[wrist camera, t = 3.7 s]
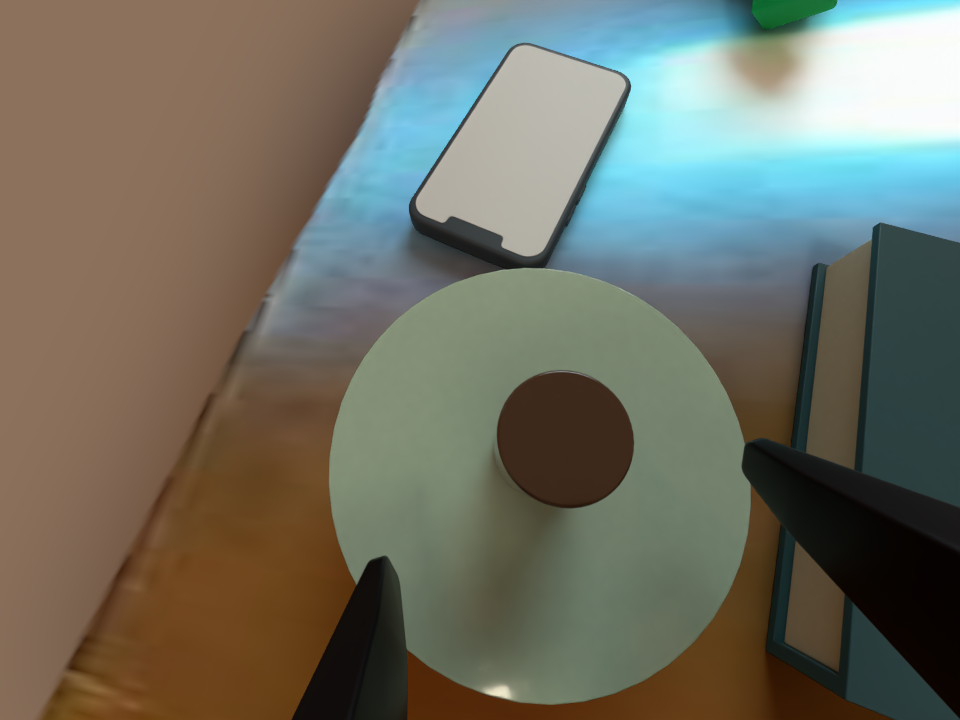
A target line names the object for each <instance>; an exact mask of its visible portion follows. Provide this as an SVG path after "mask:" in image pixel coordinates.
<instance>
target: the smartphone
mask: <svg viewBox="0 0 960 720" xmlns="http://www.w3.org/2000/svg"><path fill="white" fill-rule="evenodd" d="M630 90H631V84H630V81H629V79H628V78H627V77H626V76H625V75H624V74H622V73H621V72H618V71H615V70H612V69H609V68H606V67H603V66H600V65H596V64H593V63H590V62H587V61H584V60H581V59H578V58H575V57H572V56H568V55H565V54H562V53H559V52H556V51H553V50H550V49H547V48H544V47H540V46H537V45H534V44H530V43H520V44H517V45H515V46H513V47H511V48H510V49H509V51H508V52H507V54H506V55H505V57H504V58H503V60H502V61H501V63H500V64H499V66H498V67H497V69H496V70H495V72H494V73H493V75H492V77H491V78H490V80H489V81H488V83H487V84H486V86H485V87H484V89H483V90H482V92H481V93H480V95H479V96H478V98H477V99H476V101H475V103H474V104H473V106H472V107H471V109H470V110H469V112H468V113H467V115H466V116H465V118H464V119H463V121H462V122H461V124H460V125H459V127H458V129H457V130H456V132H455V133H454V135H453V136H452V138H451V139H450V141H449V142H448V144H447V145H446V147H445V148H444V150H443V151H442V153H441V155H440V156H439V158H438V159H437V161H436V162H435V164H434V165H433V167H432V168H431V170H430V171H429V173H428V174H427V176H426V177H425V179H424V181H423V182H422V184H421V185H420V187H419V188H418V190H417V191H416V193H415V194H414V196H413V197H412V199H411V201H410V204H409V213H410V217H411V220H412V224H413V226H414V227H415V229H416V230H417V231H419V232H420V233H422V234H424V235H426V236H428V237H431V238H433V239H436V240H438V241H440V242H443V243H445V244H448V245H450V246H452V247H455V248H457V249H460V250H462V251H464V252H467V253H469V254H472V255H474V256H476V257H479V258H481V259H484V260H486V261H488V262H491V263H493V264H496V265H498V266H501V267H503V268H505V269H520V268H540V269H543V268H544V267H545V266H546V264H547V262H548V260H549V258H550V256H551V254H552V252H553V250H554V248H555V246H556V244H557V242H558V240H559V238H560V236H561V234H562V232H563V230H564V228H565V227H567V225H568V223H569V221H570V219H571V217H572V215H573V213H574V211H575V208H576V206H577V205H578V203H579V201H580V199H581V197H582V195H583V193H584V191H585V188H586V183H587V181H588V179H589V177H590V175H591V173H592V171H593V169H594V167H595V165H596V163H597V161H598V159H599V157H600V155H601V153H602V151H603V149H604V147H605V145H606V143H607V141H608V139H609V137H610V134H611V132H612V130H613V128H614V126H615V124H616V122H617V120H618V118H619V116H620V114H621V112H622V110H623V108H624V106H625V104H626V101H627V99H628V96H629V93H630Z"/></svg>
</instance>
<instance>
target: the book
mask: <svg viewBox="0 0 960 720" xmlns="http://www.w3.org/2000/svg"><path fill="white" fill-rule="evenodd" d="M791 448H794V449H797V450H800V451H802V452H805V453H808V454H811V455H814V456H817V457H819V458H822V459H825V460H828V461H831V462H834V463H836V464H839V465H842V466H845V467H848V468H851V469H853V470H856V471H859V472H862V473H865V474H868V475H870V476H873V477H876V478H879V479H882V480H885V481H887V482H890V483H893V484H896V485H899V486H902V487H904V488H907V489H910V490H913V491H916V492H919V493H921V494H924V495H927V496H930V497H933V498H936V499H938V500H941V501H944V502H947V503H950V504H953V505H955V506H958V507H960V243H958V242H954V241H950V240H946V239H943V238H939V237H935V236H931V235H927V234H923V233H919V232H916V231H912V230H908V229H904V228H900V227H896V226H892V225H888V224H885V223H879V224H877V225H876V226H874V227H873V233H872V239H871V240H870V241H868V242H867V243H865V244H863V245H862V246H860V247H859V248H857V249H855V250H854V251H852V252H851V253H849V254H847V255H846V256H844V257H843V258H841V259H839V260H838V261H836V262H835V263H833V264H832V265H830V266H829V265H825V264H822V263H818V264H816V265H815V266H814V267H813V275H812V283H811V291H810V299H809V307H808V315H807V323H806V331H805V339H804V347H803V356H802V364H801V372H800V380H799V388H798V396H797V404H796V412H795V420H794V428H793V436H792V444H791ZM766 651H767V652H768V653H770V654H772V655H774V656H775V657H777V658H778V659H780V660H782V661H783V662H785V663H787V664H788V665H790V666H791V667H793V668H795V669H796V670H798V671H799V672H801V673H803V674H804V675H806V676H808V677H809V678H811V679H812V680H814V681H816V682H817V683H819V684H821V685H822V686H824V687H825V688H827V689H829V690H830V691H832V692H834V693H835V694H837V695H838V696H840V697H841V698H843V699H845V700H846V701H849V702H851V703H854V704H856V705H859V706H861V707H864V708H866V709H869V710H871V711H874V712H876V713H879V714H881V715H884V716H886V717H889V718H891V719H894V720H960V719H959V718H958V717H957V716H956V714H955V713H954V712H953V711H952V710H951V709H950V708H949V707H948V706H947V705H946V704H945V702H944V701H943V700H942V699H941V698H940V697H939V696H938V695H937V694H936V693H935V692H934V691H933V689H932V688H931V687H930V686H929V685H928V684H927V683H926V682H925V681H924V680H923V679H922V677H921V676H920V675H919V674H918V673H917V672H916V671H915V670H914V669H913V668H912V667H911V665H910V664H909V663H908V662H907V661H906V660H905V659H904V658H903V657H902V656H901V655H900V654H899V652H898V651H897V650H896V649H895V648H894V647H893V646H892V645H891V644H890V643H889V642H888V640H887V639H886V638H885V637H884V636H883V635H882V634H881V633H880V632H879V631H878V630H877V628H876V627H875V626H874V625H873V624H872V623H871V622H870V621H869V620H868V619H867V618H866V617H865V615H864V614H863V613H862V612H861V611H860V610H859V609H858V608H857V607H856V606H855V605H854V603H853V602H852V601H851V600H850V599H849V598H848V597H847V596H846V595H845V594H844V593H843V591H842V590H841V589H840V588H839V587H838V586H837V585H836V584H835V583H834V582H833V581H832V580H831V578H830V577H829V576H828V575H827V574H826V573H825V572H824V571H823V570H822V569H821V568H820V566H819V565H818V564H817V563H816V562H815V561H814V560H813V559H812V558H811V557H810V556H809V554H808V553H807V552H806V551H805V550H804V549H803V548H802V547H801V546H800V545H799V544H798V543H797V541H796V540H795V539H794V538H793V537H792V536H791V535H790V533H789V532H788V531H787V530H786V529H785V527H784V526H783V525H782V524H781V533H780V541H779V549H778V557H777V565H776V573H775V581H774V589H773V597H772V605H771V613H770V621H769V629H768V637H767V645H766Z"/></svg>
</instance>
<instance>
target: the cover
mask: <svg viewBox="0 0 960 720" xmlns="http://www.w3.org/2000/svg"><path fill="white" fill-rule="evenodd" d="M744 446H745V443H744V439H743V436H742V432H741V429H740V425H739V421H738V419H737V416H736V414H735V411H734V409H733V407H732V404H731V402H730V399H729V397H728V395H727V393H726V391H725V389H724V388H723V386H722V384H721V382H720V380H719V379H718V377H717V375H716V373H715V372H714V370H713V369H712V367H711V366H710V365H709V363H708V362H707V360H706V359H705V358H704V356H703V355H702V354H701V352H700V351H699V349H698V348H697V347H696V346H695V345H694V344H693V343H692V342H691V341H690V340H689V339H688V337H687V336H686V335H685V334H684V333H683V332H682V331H681V330H680V329H679V328H678V327H677V326H675V325H674V324H673V323H672V322H671V321H670V320H668V319H667V318H666V317H665V316H664V315H663V314H661V313H660V312H659V311H657V310H656V309H654V308H653V307H651V306H650V305H648V304H647V303H646V302H644V301H643V300H641V299H640V298H638V297H636V296H634V295H632V294H630V293H628V292H626V291H624V290H622V289H621V288H619V287H616V286H614V285H611V284H609V283H606V282H603V281H601V280H598V279H596V278H592V277H588V276H585V275H581V274H577V273H573V272H567V271H561V270H554V269H540V268H520V269H508V270H500V271H495V272H490V273H485V274H480V275H477V276H474V277H471V278H468V279H465V280H462V281H459V282H456V283H454V284H452V285H449V286H447V287H445V288H443V289H441V290H439V291H437V292H435V293H433V294H432V295H430V296H428V297H427V298H425V299H424V300H422V301H420V302H419V303H417V304H416V305H414V306H413V307H412V308H411V309H409V310H408V311H407V312H406V313H404V314H403V315H402V316H401V317H399V318H398V319H397V320H396V321H395V322H394V323H393V324H392V325H391V326H390V327H389V328H388V329H387V330H386V331H385V332H384V333H383V334H382V335H381V336H380V337H379V339H378V340H377V341H376V343H375V344H374V345H373V347H372V348H371V349H370V350H369V352H368V353H367V354H366V356H365V357H364V359H363V360H362V362H361V364H360V366H359V367H358V369H357V371H356V373H355V374H354V376H353V378H352V379H351V382H350V384H349V386H348V389H347V391H346V394H345V396H344V398H343V401H342V403H341V406H340V410H339V413H338V417H337V420H336V424H335V427H334V432H333V438H332V445H331V451H330V462H329V492H330V502H331V512H332V517H333V522H334V526H335V530H336V535H337V539H338V543H339V546H340V548H341V551H342V554H343V557H344V559H345V562H346V565H347V567H348V570H349V572H350V574H351V576H352V578H353V580H354V582H355V584H356V585H357V583H358V581H359V579H360V577H361V575H362V573H363V571H364V569H365V567H366V565H367V563H368V562H369V561H370V560H371V559H373V558H377V557H380V556H383V555H386V556H388V558H389V559H390V561H391V563H392V565H393V567H394V569H395V571H396V573H397V574H398V577H399V581H400V587H401V597H402V608H403V618H404V628H405V638H406V649H407V650H408V651H409V652H410V653H412V654H413V655H414V656H415V657H417V658H418V659H419V660H421V661H422V662H423V663H424V664H426V665H427V666H428V667H429V668H431V669H433V670H435V671H436V672H438V673H440V674H442V675H443V676H445V677H447V678H448V679H450V680H452V681H454V682H455V683H457V684H460V685H462V686H465V687H467V688H470V689H472V690H475V691H477V692H480V693H482V694H485V695H487V696H492V697H496V698H501V699H505V700H509V701H514V702H518V703H531V704H546V705H556V704H567V703H577V702H585V701H589V700H593V699H597V698H601V697H605V696H608V695H612V694H616V693H618V692H620V691H622V690H625V689H627V688H629V687H632V686H634V685H636V684H638V683H641V682H643V681H645V680H646V679H648V678H649V677H651V676H652V675H654V674H656V673H657V672H659V671H660V670H662V669H663V668H665V667H666V666H668V665H669V664H671V663H672V662H673V661H674V660H675V659H676V658H677V657H679V656H680V655H681V654H682V653H683V652H684V651H685V650H686V649H687V648H689V647H690V646H691V645H692V644H693V643H694V642H695V641H696V639H697V638H698V637H699V636H700V635H701V633H702V632H703V631H704V630H705V628H706V627H707V626H708V625H709V623H710V622H711V621H712V620H713V618H714V617H715V615H716V613H717V612H718V610H719V608H720V607H721V605H722V603H723V601H724V600H725V598H726V596H727V595H728V593H729V591H730V588H731V586H732V583H733V581H734V578H735V576H736V574H737V571H738V569H739V566H740V563H741V559H742V555H743V551H744V547H745V543H746V539H747V535H748V527H749V518H750V509H751V490H750V482H749V481H748V480H747V478H746V477H745V475H744V474H743V471H742V468H741V464H742V457H743V451H744Z"/></svg>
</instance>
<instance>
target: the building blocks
mask: <svg viewBox="0 0 960 720" xmlns="http://www.w3.org/2000/svg"><path fill="white" fill-rule="evenodd" d="M836 4H837V0H753V2H752V13H753V15H754V16H755V18H756V19H757V21H758V22H759V24H760V25H761V27H762V28H763V29H765V30H767V29H771V28H775V27H778V26H781V25H784V24H787V23H790V22H793V21H796V20H800V19H803V18H806V17H809V16H812V15H815V14H818V13H821V12H825V11H827V10H830V9H833V8H834V7H835V6H836Z"/></svg>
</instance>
